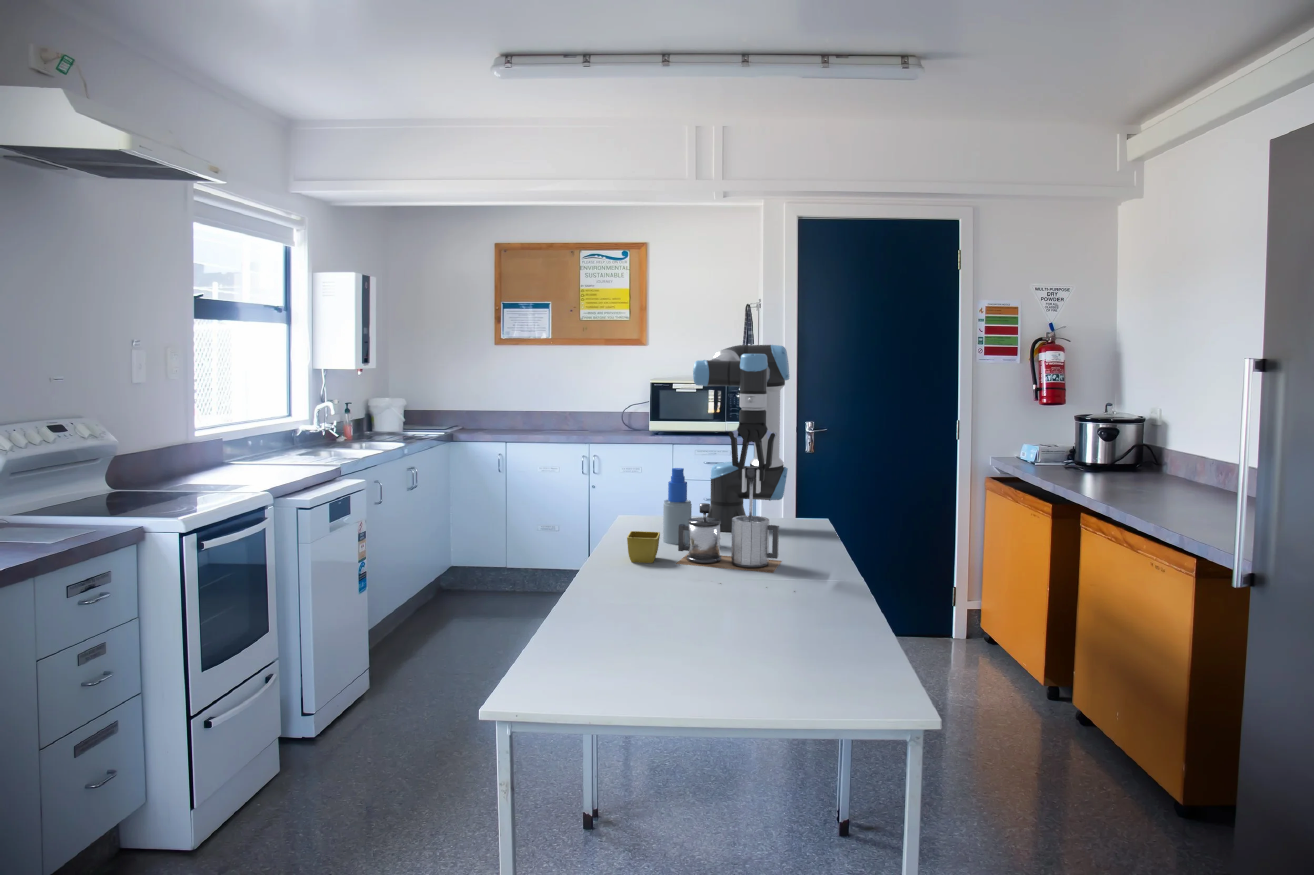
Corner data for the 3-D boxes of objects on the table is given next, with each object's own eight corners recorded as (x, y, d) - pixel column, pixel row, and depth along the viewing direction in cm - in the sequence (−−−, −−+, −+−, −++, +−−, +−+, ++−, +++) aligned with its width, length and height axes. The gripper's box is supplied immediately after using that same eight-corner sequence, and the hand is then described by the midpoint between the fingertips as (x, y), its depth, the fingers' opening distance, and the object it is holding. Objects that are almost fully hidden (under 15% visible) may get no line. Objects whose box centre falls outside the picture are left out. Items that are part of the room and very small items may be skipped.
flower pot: (660, 561, 238) (660, 531, 237) (657, 569, 229) (657, 538, 228) (630, 560, 239) (630, 530, 238) (626, 568, 230) (626, 537, 229)
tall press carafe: (736, 558, 236) (736, 514, 235) (780, 562, 232) (781, 517, 231) (727, 566, 227) (728, 521, 225) (773, 571, 222) (774, 524, 221)
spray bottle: (690, 542, 262) (691, 466, 260) (691, 549, 253) (692, 470, 251) (663, 542, 262) (663, 466, 260) (662, 549, 254) (663, 470, 251)
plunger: (741, 530, 233) (742, 465, 231) (764, 531, 231) (766, 466, 229) (735, 534, 227) (737, 468, 225) (759, 536, 225) (761, 469, 223)
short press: (684, 553, 241) (684, 499, 240) (725, 557, 237) (725, 502, 236) (673, 561, 232) (674, 505, 230) (716, 565, 228) (717, 508, 226)
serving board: (689, 557, 243) (689, 552, 243) (782, 565, 234) (782, 560, 234) (675, 568, 230) (675, 563, 230) (772, 578, 221) (773, 572, 221)
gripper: (720, 408, 225) (719, 492, 227) (779, 410, 219) (777, 495, 222) (727, 407, 232) (726, 488, 234) (784, 409, 226) (782, 491, 229)
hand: (751, 491), depth 228 cm, fingers closed on plunger, 3 cm apart
